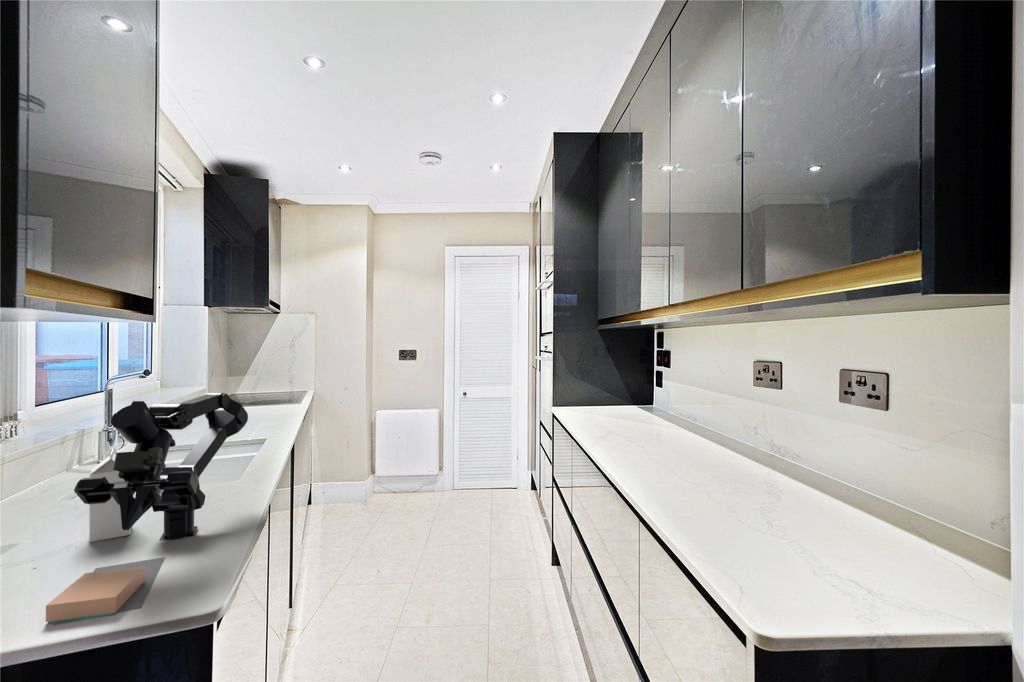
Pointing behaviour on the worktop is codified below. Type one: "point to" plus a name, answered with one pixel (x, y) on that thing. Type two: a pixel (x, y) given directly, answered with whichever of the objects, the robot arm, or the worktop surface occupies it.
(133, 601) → the mat
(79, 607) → the tile
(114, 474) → the milk carton
